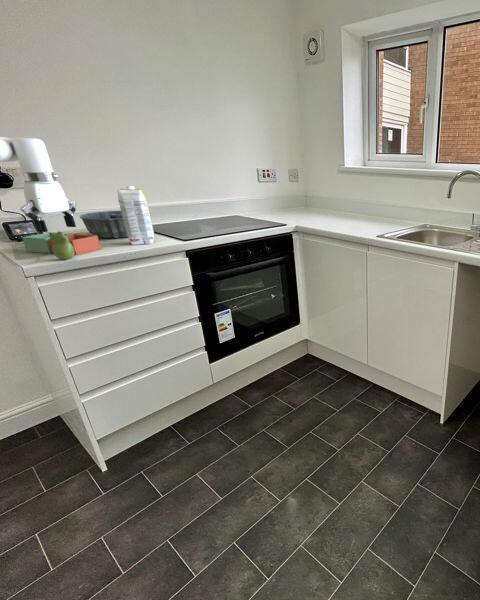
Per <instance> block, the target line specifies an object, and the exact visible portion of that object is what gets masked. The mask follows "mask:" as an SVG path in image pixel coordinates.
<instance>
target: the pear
mask: <svg viewBox="0 0 480 600" xmlns="http://www.w3.org/2000/svg"><path fill="white" fill-rule="evenodd" d="M52 233H53V234H52V235H50V240H51V241H52V242H53V252H54V253H53V254H54V256H55V257H56V258H57V259H59V260H67V261H68V260H71V259H72V258H73V257H74V256H75V255H74V247H73V245H72V244H71V243H70V242H69V239H68V237H67V236H66V235H64V233H65V232H63V231H57V232H52Z"/></svg>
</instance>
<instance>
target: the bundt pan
mask: <svg viewBox="0 0 480 600" xmlns="http://www.w3.org/2000/svg"><path fill="white" fill-rule="evenodd" d="M79 218H80V219H81V220H82V222H83V225H84V226H85V228H86V231H88V233H90V235H97V236H98V238H99V239H111V238H114V239H119V238H128V236H127V232H126V228H125V224H124V220H123V217H122V213H121V210H105V211H96V212H95V211H93V212H86V213H83V214H80V215H79Z"/></svg>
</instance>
